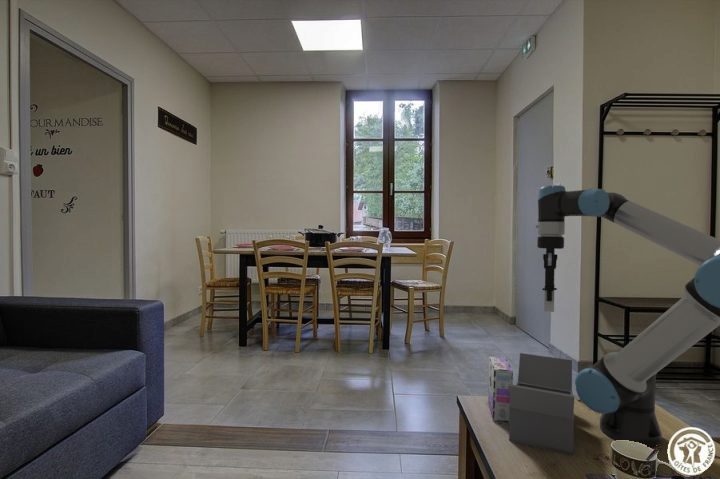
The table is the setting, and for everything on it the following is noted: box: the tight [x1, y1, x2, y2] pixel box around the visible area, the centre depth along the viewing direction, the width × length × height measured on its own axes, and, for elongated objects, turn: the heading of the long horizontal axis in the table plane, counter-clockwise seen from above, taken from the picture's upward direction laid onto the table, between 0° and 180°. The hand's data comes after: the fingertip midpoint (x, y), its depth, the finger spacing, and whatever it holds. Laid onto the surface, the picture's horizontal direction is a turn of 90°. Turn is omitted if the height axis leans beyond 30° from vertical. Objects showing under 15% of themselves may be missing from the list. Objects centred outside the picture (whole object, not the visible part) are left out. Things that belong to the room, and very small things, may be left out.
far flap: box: [517, 352, 573, 391], centre depth 129 cm, size 16×10×1 cm
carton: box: [508, 381, 575, 456], centre depth 118 cm, size 16×20×10 cm
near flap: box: [508, 384, 575, 420], centre depth 106 cm, size 16×10×1 cm
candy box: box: [487, 356, 514, 424], centre depth 130 cm, size 14×6×16 cm, turn 168°
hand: (549, 311), depth 125 cm, fingers closed
